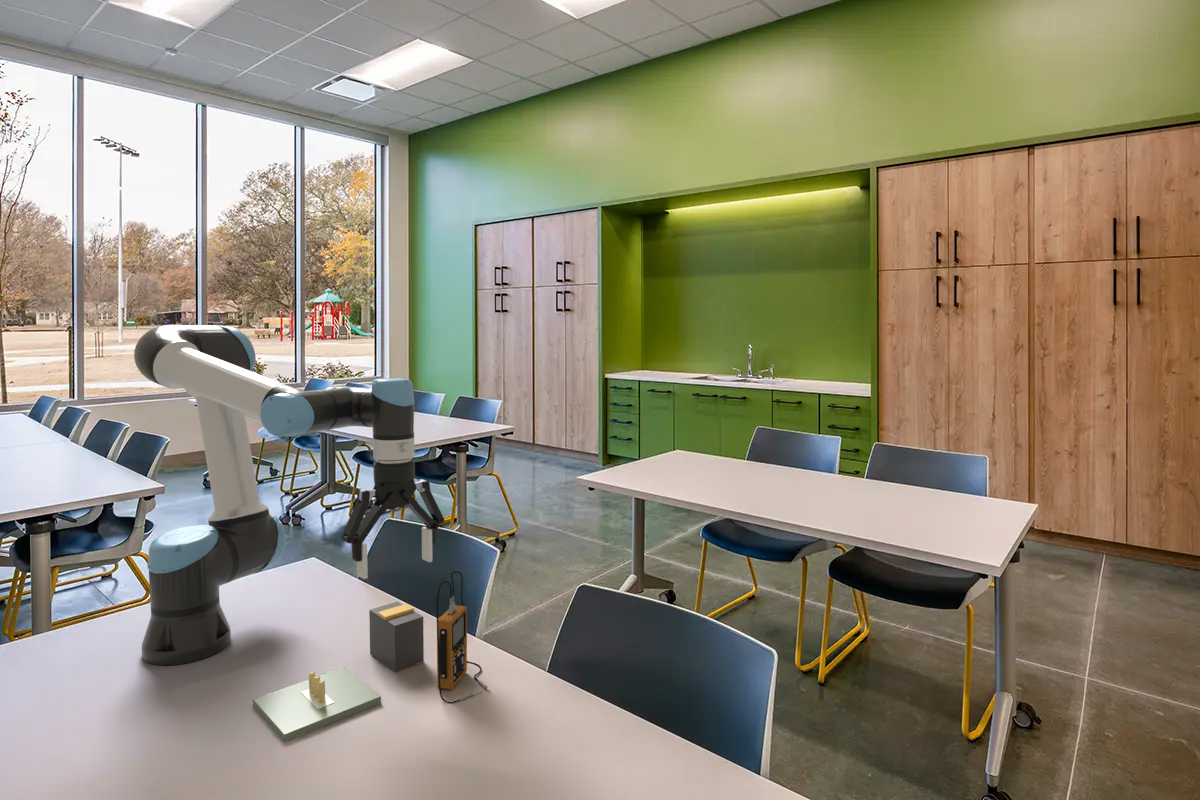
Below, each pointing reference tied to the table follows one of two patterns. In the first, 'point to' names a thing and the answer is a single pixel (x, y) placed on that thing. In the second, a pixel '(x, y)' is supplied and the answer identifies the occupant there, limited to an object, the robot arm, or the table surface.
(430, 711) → the table surface
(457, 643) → the multimeter
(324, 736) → the table surface
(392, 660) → the block
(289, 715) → the board
